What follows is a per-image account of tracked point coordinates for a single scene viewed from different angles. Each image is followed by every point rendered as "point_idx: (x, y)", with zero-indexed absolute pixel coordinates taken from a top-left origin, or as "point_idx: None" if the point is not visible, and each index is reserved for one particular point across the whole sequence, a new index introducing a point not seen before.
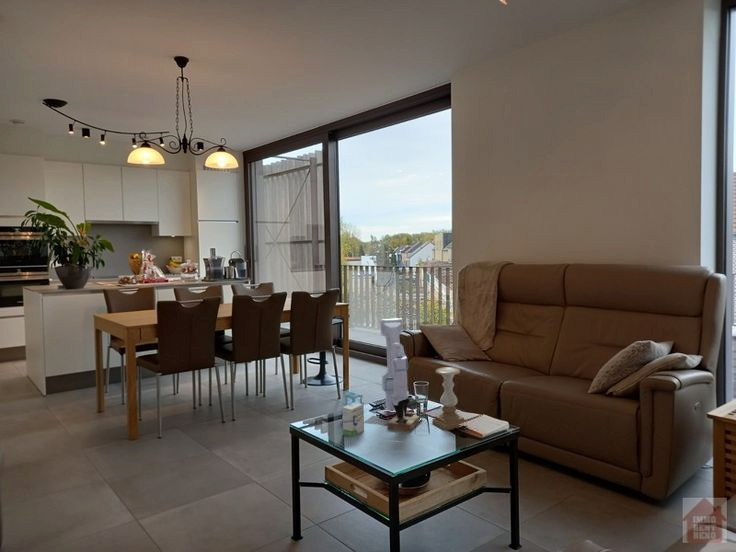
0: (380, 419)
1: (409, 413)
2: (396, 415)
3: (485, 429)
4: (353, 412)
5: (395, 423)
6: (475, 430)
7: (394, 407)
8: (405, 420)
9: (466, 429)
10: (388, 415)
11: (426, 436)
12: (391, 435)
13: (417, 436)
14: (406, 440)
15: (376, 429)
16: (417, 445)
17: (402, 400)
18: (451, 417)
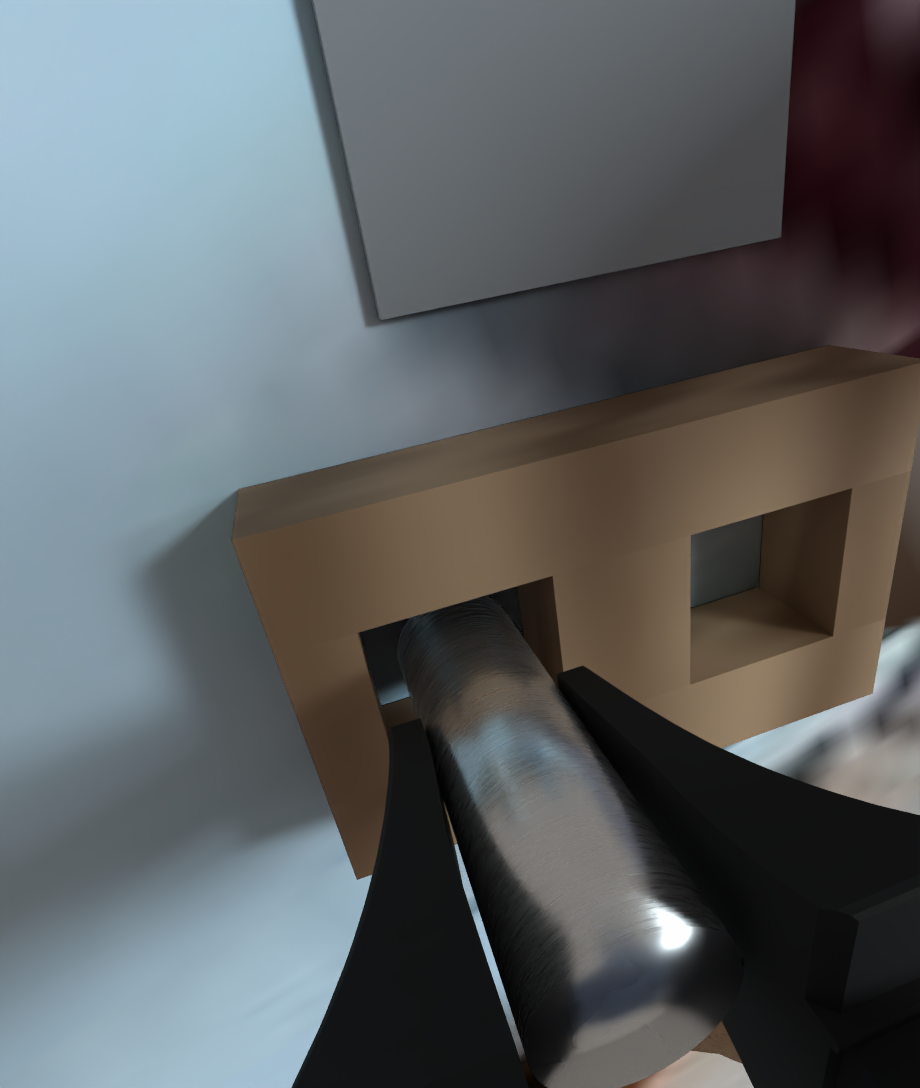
0: (632, 19)
1: (841, 560)
2: (696, 434)
3: (707, 1082)
4: None
5: (293, 687)
6: (666, 1067)
7: (344, 984)
8: (557, 670)
9: None
10: (903, 41)
11: (337, 969)
12: (57, 695)
13: (276, 921)
14: (60, 933)
15: (103, 282)
16: (25, 1081)
17: (799, 1052)
18: (734, 1059)
